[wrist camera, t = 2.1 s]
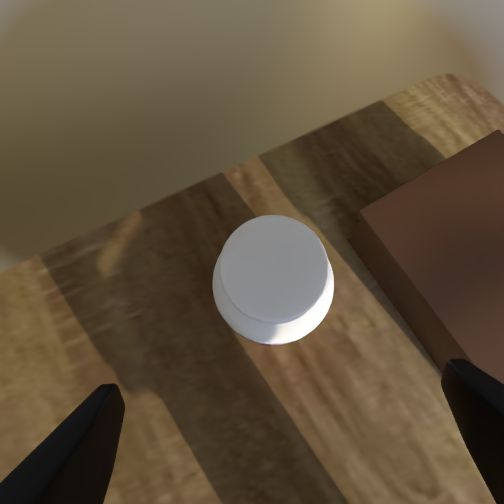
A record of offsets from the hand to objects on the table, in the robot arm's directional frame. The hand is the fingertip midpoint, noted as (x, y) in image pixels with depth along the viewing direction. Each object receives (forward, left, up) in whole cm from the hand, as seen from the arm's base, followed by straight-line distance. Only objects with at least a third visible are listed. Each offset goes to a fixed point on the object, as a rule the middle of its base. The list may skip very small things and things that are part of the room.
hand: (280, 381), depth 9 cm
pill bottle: (+3, -2, -12) cm, 12 cm away
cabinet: (-2, -13, -12) cm, 17 cm away
